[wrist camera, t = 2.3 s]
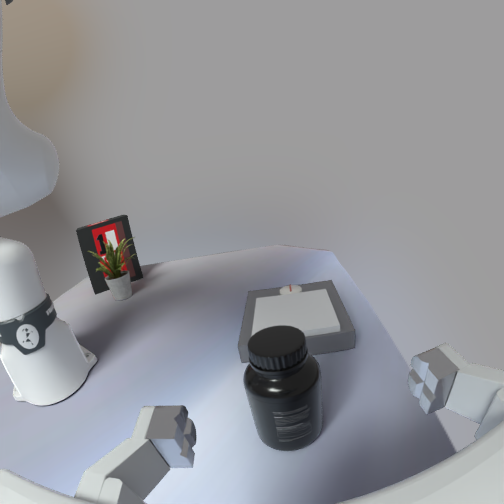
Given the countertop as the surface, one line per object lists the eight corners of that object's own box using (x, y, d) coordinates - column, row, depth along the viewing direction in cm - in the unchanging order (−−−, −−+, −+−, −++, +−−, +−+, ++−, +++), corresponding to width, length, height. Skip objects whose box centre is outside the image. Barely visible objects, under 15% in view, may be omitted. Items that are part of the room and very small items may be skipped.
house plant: (161, 288, 72) (146, 228, 67) (122, 311, 60) (101, 245, 56) (132, 283, 79) (117, 231, 75) (95, 303, 68) (77, 246, 63)
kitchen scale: (241, 362, 38) (236, 340, 37) (251, 305, 55) (247, 286, 54) (354, 348, 36) (355, 324, 35) (332, 294, 53) (331, 275, 52)
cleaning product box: (137, 272, 91) (123, 214, 85) (143, 277, 83) (127, 215, 78) (93, 287, 82) (77, 228, 77) (95, 294, 75) (76, 230, 69)
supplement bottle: (330, 410, 26) (328, 320, 23) (310, 459, 21) (305, 373, 17) (272, 401, 30) (256, 315, 26) (246, 443, 24) (218, 358, 21)
